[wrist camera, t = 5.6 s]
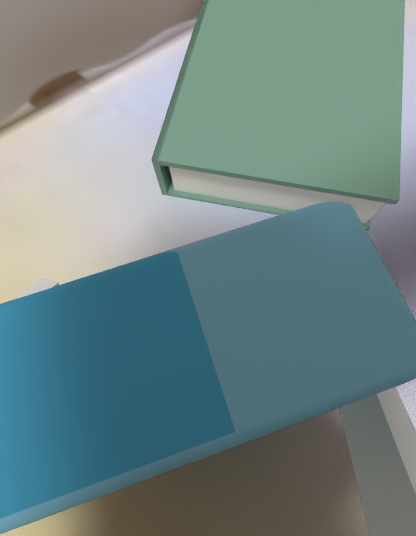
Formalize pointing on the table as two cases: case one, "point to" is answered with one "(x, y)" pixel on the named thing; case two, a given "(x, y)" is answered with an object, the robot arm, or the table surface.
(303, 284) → the data package
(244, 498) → the table surface
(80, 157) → the table surface
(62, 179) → the table surface
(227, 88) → the green book
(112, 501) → the table surface
